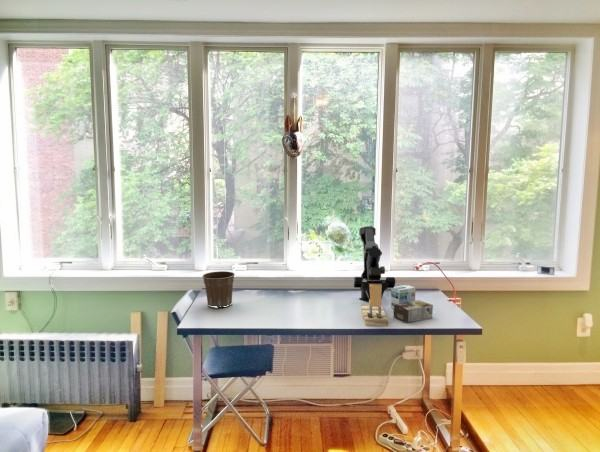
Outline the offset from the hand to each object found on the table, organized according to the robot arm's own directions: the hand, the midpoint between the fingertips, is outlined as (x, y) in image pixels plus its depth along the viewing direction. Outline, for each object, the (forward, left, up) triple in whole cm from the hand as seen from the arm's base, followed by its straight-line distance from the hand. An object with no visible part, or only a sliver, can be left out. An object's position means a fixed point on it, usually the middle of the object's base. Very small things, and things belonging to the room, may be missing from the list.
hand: (375, 298), depth 192 cm
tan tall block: (-1, +1, -7) cm, 7 cm away
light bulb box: (-5, +26, -11) cm, 29 cm away
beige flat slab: (-5, +4, -11) cm, 13 cm away
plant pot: (-68, -43, -11) cm, 81 cm away
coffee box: (+9, +26, -8) cm, 29 cm away
